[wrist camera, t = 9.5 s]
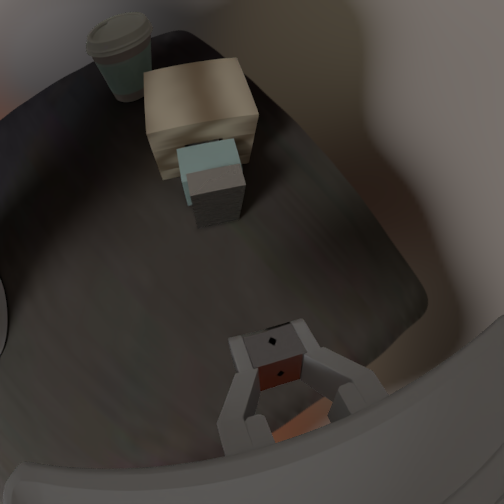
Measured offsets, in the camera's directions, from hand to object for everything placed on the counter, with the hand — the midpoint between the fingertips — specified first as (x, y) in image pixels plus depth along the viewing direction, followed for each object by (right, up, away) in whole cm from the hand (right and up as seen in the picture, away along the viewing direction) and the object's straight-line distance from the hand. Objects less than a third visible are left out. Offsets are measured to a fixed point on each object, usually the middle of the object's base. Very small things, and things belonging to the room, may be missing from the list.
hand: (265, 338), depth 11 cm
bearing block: (-7, +17, +21) cm, 28 cm away
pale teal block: (-5, +10, +18) cm, 22 cm away
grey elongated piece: (-6, +15, +20) cm, 26 cm away
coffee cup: (-18, +27, +22) cm, 39 cm away
